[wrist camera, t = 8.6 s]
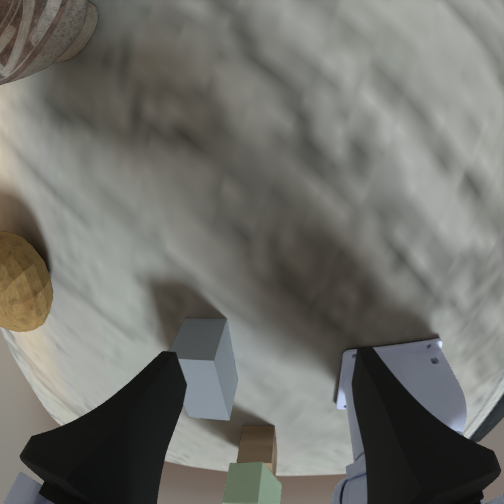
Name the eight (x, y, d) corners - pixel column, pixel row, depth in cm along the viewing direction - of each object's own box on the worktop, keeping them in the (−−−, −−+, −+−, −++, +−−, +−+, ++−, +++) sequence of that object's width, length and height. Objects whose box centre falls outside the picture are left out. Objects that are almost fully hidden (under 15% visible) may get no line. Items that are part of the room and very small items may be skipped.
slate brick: (185, 317, 23) (165, 357, 19) (227, 317, 23) (213, 360, 18) (201, 376, 26) (188, 416, 21) (238, 378, 26) (229, 420, 21)
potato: (-15, 219, 22) (-65, 246, 15) (61, 215, 21) (-6, 252, 14) (6, 296, 26) (-34, 330, 19) (85, 313, 25) (39, 365, 17)
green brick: (229, 463, 24) (222, 503, 20) (262, 461, 24) (257, 503, 19) (253, 486, 27) (248, 520, 22) (281, 484, 26) (278, 519, 21)
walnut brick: (242, 425, 29) (236, 461, 24) (274, 425, 28) (271, 463, 24) (249, 452, 31) (245, 484, 27) (277, 453, 31) (274, 485, 26)
